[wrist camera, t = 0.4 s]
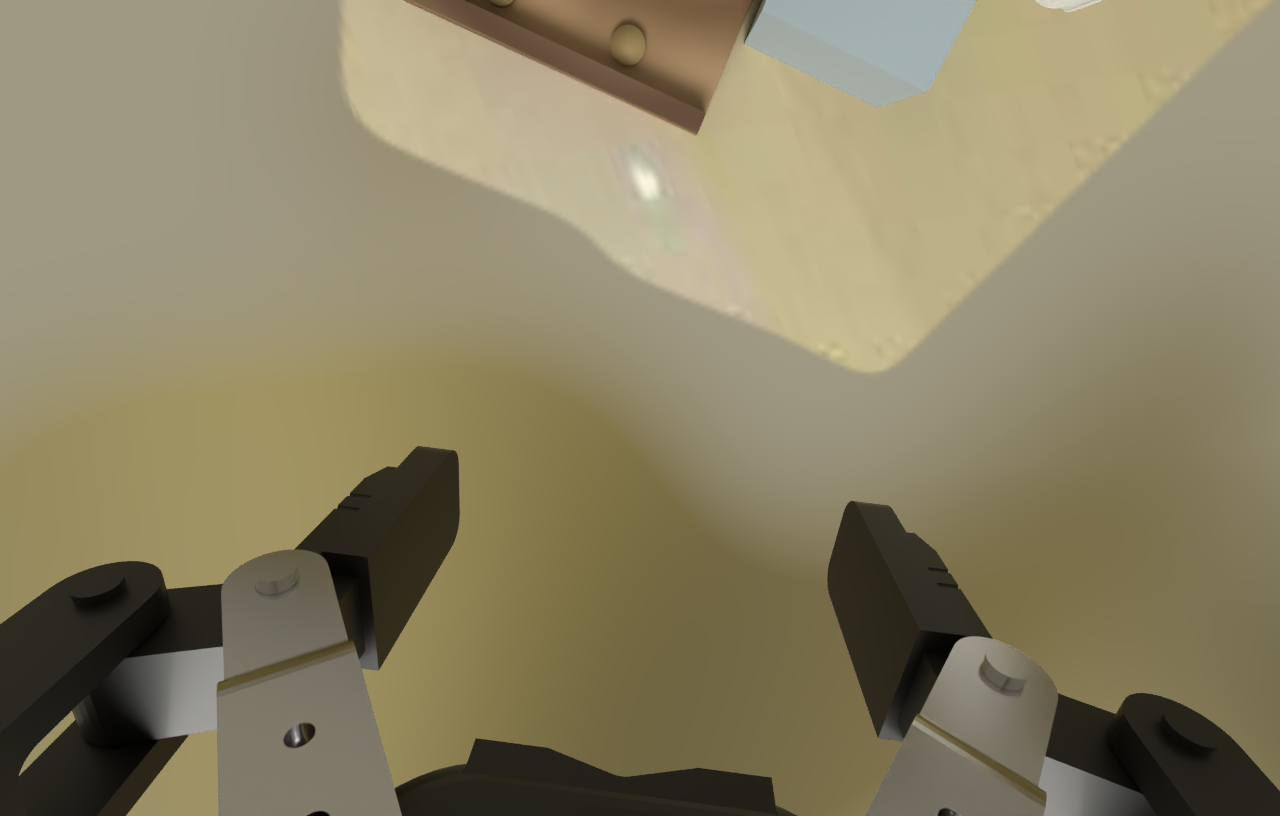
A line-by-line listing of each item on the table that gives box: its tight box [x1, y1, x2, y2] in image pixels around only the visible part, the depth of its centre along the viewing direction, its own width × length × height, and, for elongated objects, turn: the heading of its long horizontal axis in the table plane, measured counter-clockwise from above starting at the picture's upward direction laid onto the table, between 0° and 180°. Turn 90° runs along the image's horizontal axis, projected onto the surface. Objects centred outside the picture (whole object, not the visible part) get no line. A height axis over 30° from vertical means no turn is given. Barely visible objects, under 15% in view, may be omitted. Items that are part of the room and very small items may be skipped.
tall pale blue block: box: [744, 0, 976, 108], centre depth 28 cm, size 4×8×7 cm, turn 67°
